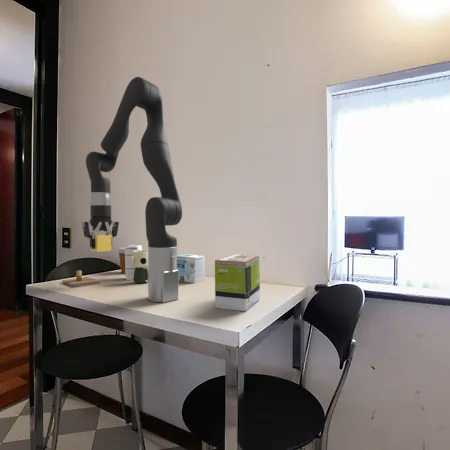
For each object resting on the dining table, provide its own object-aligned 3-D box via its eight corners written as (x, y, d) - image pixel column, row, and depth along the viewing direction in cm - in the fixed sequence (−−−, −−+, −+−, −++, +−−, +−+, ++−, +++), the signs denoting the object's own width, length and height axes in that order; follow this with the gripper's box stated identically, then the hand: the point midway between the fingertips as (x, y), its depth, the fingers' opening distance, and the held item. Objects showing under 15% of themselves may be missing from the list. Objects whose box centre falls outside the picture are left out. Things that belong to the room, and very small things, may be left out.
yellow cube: (111, 250, 120) (111, 235, 120) (97, 251, 116) (97, 235, 116) (104, 249, 124) (104, 234, 124) (90, 250, 120) (90, 235, 120)
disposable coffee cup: (114, 274, 145) (114, 248, 145) (123, 270, 155) (123, 246, 154) (133, 275, 144) (133, 249, 143) (141, 271, 153) (141, 247, 153)
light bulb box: (175, 280, 132) (175, 255, 132) (186, 278, 138) (186, 253, 138) (195, 283, 126) (195, 257, 126) (205, 280, 132) (205, 255, 132)
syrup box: (138, 280, 132) (138, 246, 131) (124, 280, 132) (124, 246, 131) (142, 277, 137) (142, 245, 137) (129, 277, 137) (129, 244, 137)
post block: (100, 283, 125) (100, 271, 124) (74, 287, 117) (74, 274, 117) (87, 279, 133) (87, 267, 133) (62, 282, 125) (62, 270, 125)
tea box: (232, 296, 106) (232, 253, 106) (260, 299, 102) (261, 254, 102) (213, 308, 92) (214, 258, 92) (245, 312, 88) (246, 260, 88)
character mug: (137, 286, 120) (137, 252, 120) (124, 284, 124) (124, 251, 124) (157, 281, 130) (157, 250, 130) (144, 279, 134) (144, 249, 133)
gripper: (86, 203, 112) (86, 250, 112) (122, 205, 123) (123, 247, 123) (77, 204, 117) (78, 249, 118) (113, 205, 128) (113, 246, 128)
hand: (101, 248), depth 120 cm, fingers closed on yellow cube, 5 cm apart
